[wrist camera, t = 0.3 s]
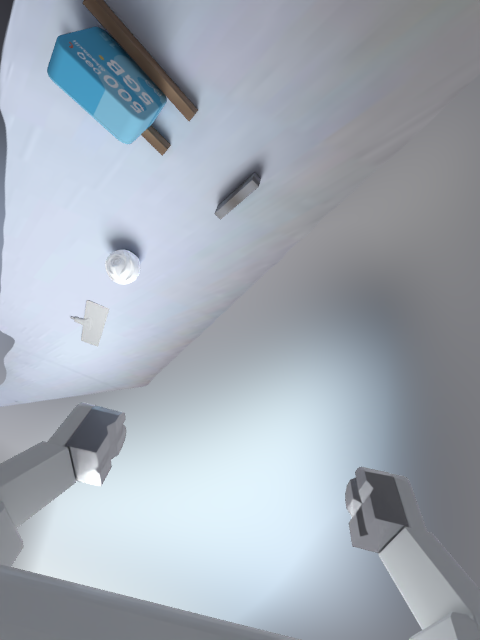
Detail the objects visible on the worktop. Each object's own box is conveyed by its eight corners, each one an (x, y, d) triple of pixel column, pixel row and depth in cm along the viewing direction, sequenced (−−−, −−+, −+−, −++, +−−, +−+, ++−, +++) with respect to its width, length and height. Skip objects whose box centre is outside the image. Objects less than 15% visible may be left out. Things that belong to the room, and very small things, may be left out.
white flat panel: (74, 292, 89) (72, 295, 88) (151, 323, 95) (149, 326, 94) (70, 334, 107) (68, 337, 106) (135, 358, 113) (134, 361, 112)
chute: (96, -13, 40) (84, -12, 38) (260, 179, 55) (258, 186, 53) (68, 56, 46) (57, 60, 44) (223, 211, 61) (220, 219, 59)
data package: (170, 98, 48) (141, 123, 40) (155, 121, 51) (126, 148, 43) (100, 24, 42) (51, 36, 35) (88, 54, 45) (40, 71, 38)
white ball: (137, 242, 70) (124, 263, 65) (151, 268, 76) (139, 289, 71) (108, 245, 73) (92, 265, 68) (123, 270, 78) (110, 290, 73)
